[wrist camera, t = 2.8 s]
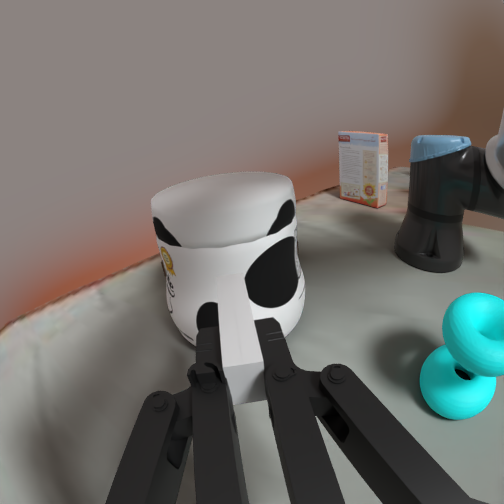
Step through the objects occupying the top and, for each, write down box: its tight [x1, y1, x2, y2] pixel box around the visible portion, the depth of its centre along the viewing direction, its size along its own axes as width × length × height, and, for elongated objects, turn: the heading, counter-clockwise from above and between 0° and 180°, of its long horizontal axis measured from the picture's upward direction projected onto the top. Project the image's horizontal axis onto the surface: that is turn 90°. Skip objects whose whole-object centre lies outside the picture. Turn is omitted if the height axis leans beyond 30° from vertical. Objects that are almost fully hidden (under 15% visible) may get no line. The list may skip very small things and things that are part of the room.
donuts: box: [420, 293, 504, 420], centre depth 18 cm, size 10×10×10 cm
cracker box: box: [338, 131, 388, 208], centre depth 72 cm, size 14×6×21 cm, turn 35°
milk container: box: [151, 172, 305, 346], centre depth 32 cm, size 17×17×18 cm
